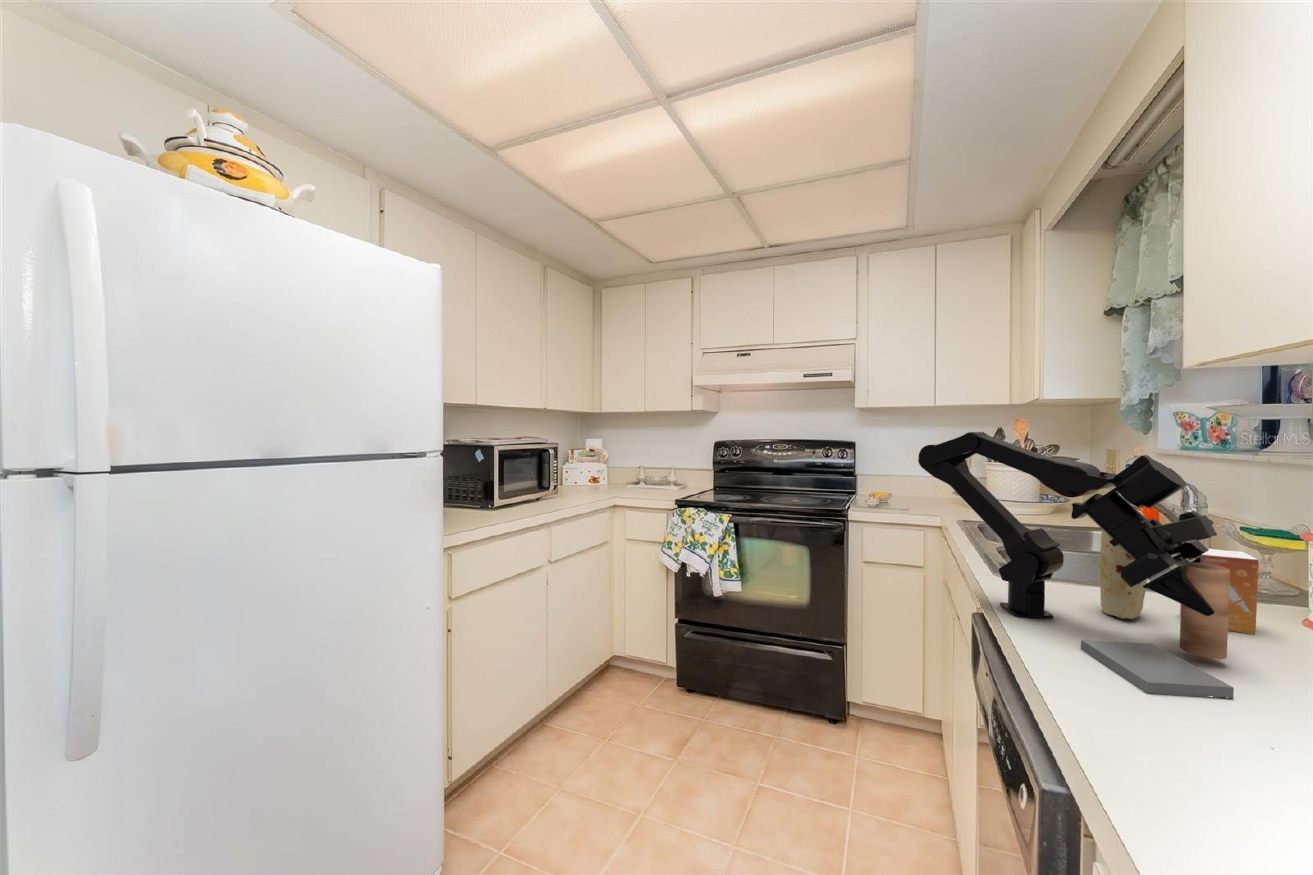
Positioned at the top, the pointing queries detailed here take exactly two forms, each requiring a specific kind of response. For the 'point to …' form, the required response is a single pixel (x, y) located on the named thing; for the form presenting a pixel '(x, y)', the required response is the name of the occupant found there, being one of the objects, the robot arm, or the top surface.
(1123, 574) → the robot arm
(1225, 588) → the banded brown cylinder
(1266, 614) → the top surface
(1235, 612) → the small box
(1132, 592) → the food model
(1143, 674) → the slate board
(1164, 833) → the top surface
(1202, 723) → the top surface
